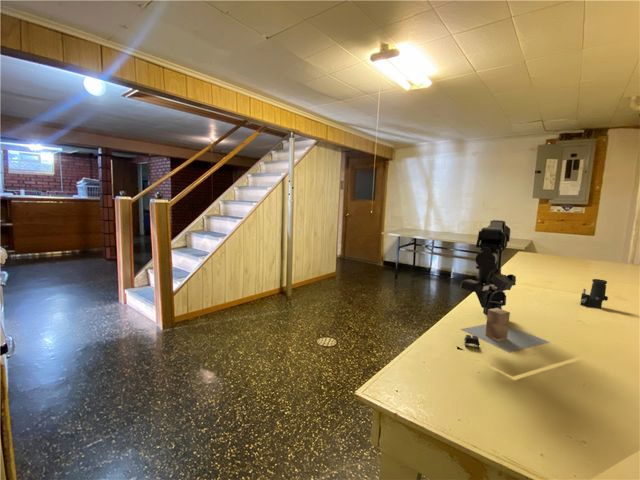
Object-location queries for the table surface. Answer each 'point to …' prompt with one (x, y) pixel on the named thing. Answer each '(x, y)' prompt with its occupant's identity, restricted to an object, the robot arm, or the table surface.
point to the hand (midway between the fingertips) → (484, 307)
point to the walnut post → (497, 324)
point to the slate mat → (514, 338)
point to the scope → (595, 294)
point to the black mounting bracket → (470, 341)
